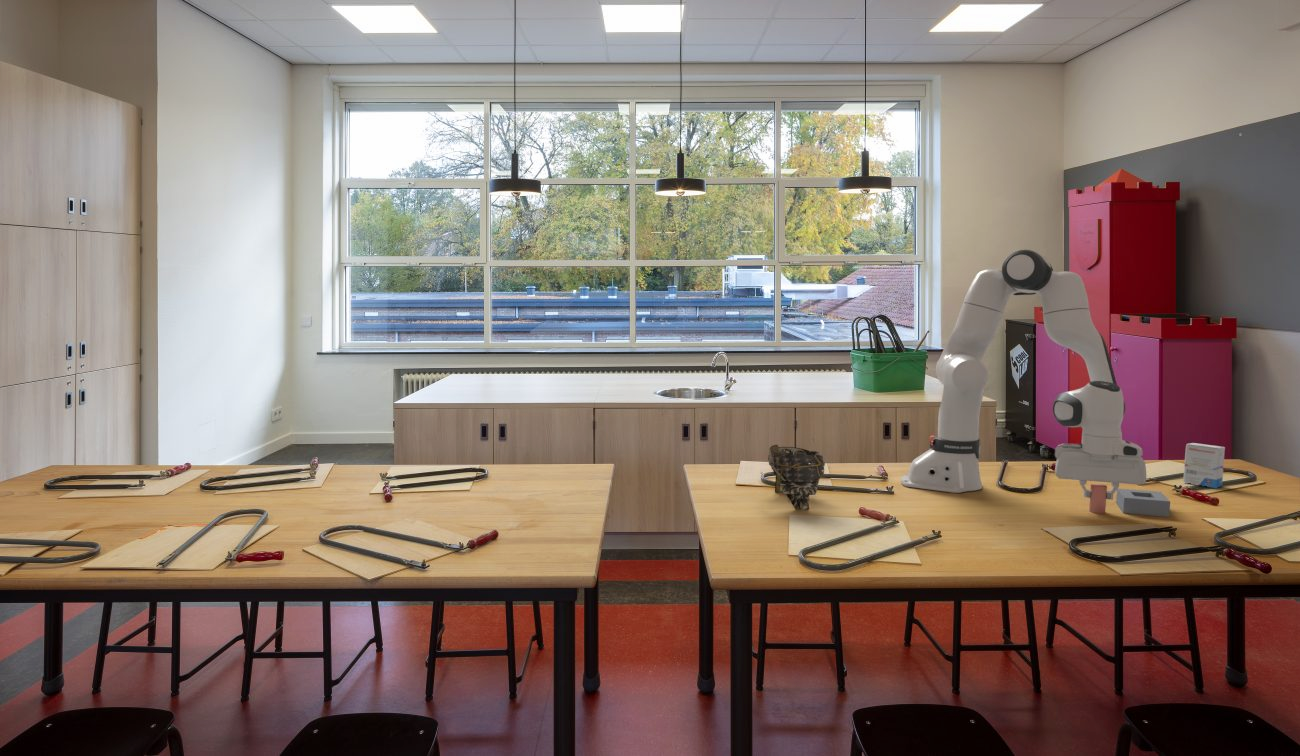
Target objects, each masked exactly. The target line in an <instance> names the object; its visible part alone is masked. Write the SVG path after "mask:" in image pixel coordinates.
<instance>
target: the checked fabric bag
mask: <svg viewBox="0 0 1300 756" xmlns="http://www.w3.org/2000/svg"><path fill="white" fill-rule="evenodd" d="M768 450H769V454H768V459H767V460H768V465H769V466H770V468H771V470H772V471H773V472H772V473H773V474H774V475H775V481H774V482H775V483H774V484H775V485H774V493H778V492H780V494H782V495H786V496H787V499H788V500H789V501H790V503H791V505H792V507H793V509H794V510H795V511H801V510H803V511H804V510H810V496H815V495H816V494H817V493H818V492H817V491H818V487H819V483H820V479H821V478H822V477H823V476H824V475H825V466H826V462H825V460H824V457H823V455H820V454H821V453H820V452H819V451H817V450H816V451H815V450H811V451H810V450H808V449H805V448H800V447H795V446H779V444H773V445H771V446H770V447H769V449H768Z"/></svg>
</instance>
